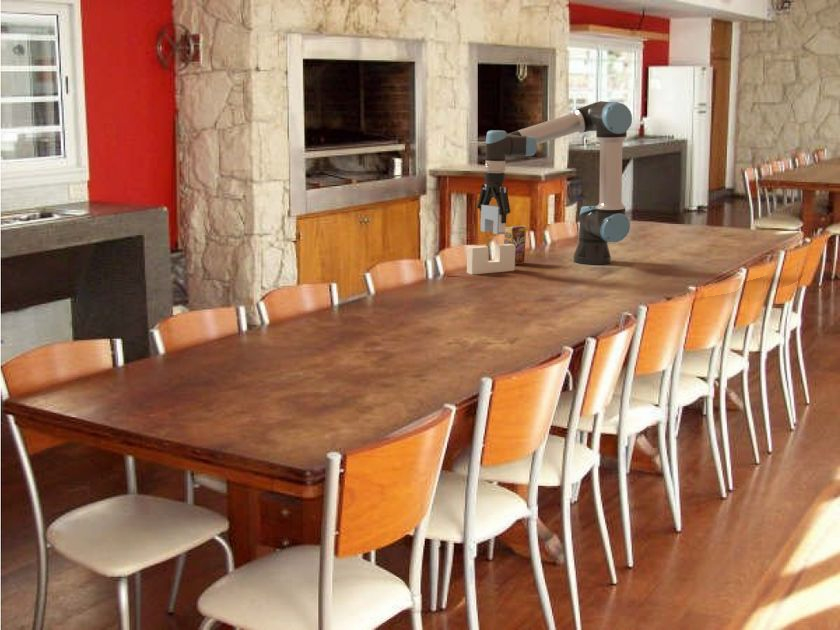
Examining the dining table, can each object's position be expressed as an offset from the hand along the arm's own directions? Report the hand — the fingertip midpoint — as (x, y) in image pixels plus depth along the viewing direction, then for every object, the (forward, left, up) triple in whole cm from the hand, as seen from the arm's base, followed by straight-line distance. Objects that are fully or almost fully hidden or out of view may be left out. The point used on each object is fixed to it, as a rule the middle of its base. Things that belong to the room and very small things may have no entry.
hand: (492, 229), depth 416 cm
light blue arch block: (0, 0, -1) cm, 1 cm away
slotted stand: (0, 0, -16) cm, 16 cm away
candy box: (-11, -19, -17) cm, 27 cm away
